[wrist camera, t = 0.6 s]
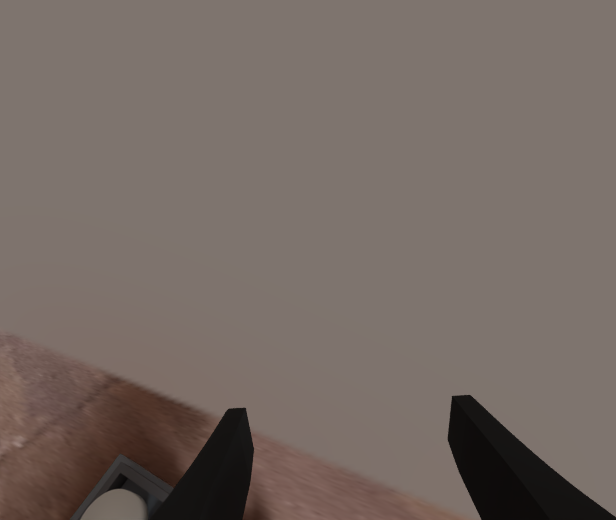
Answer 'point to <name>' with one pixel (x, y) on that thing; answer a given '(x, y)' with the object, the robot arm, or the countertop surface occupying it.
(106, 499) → the button
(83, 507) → the console
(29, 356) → the countertop surface
